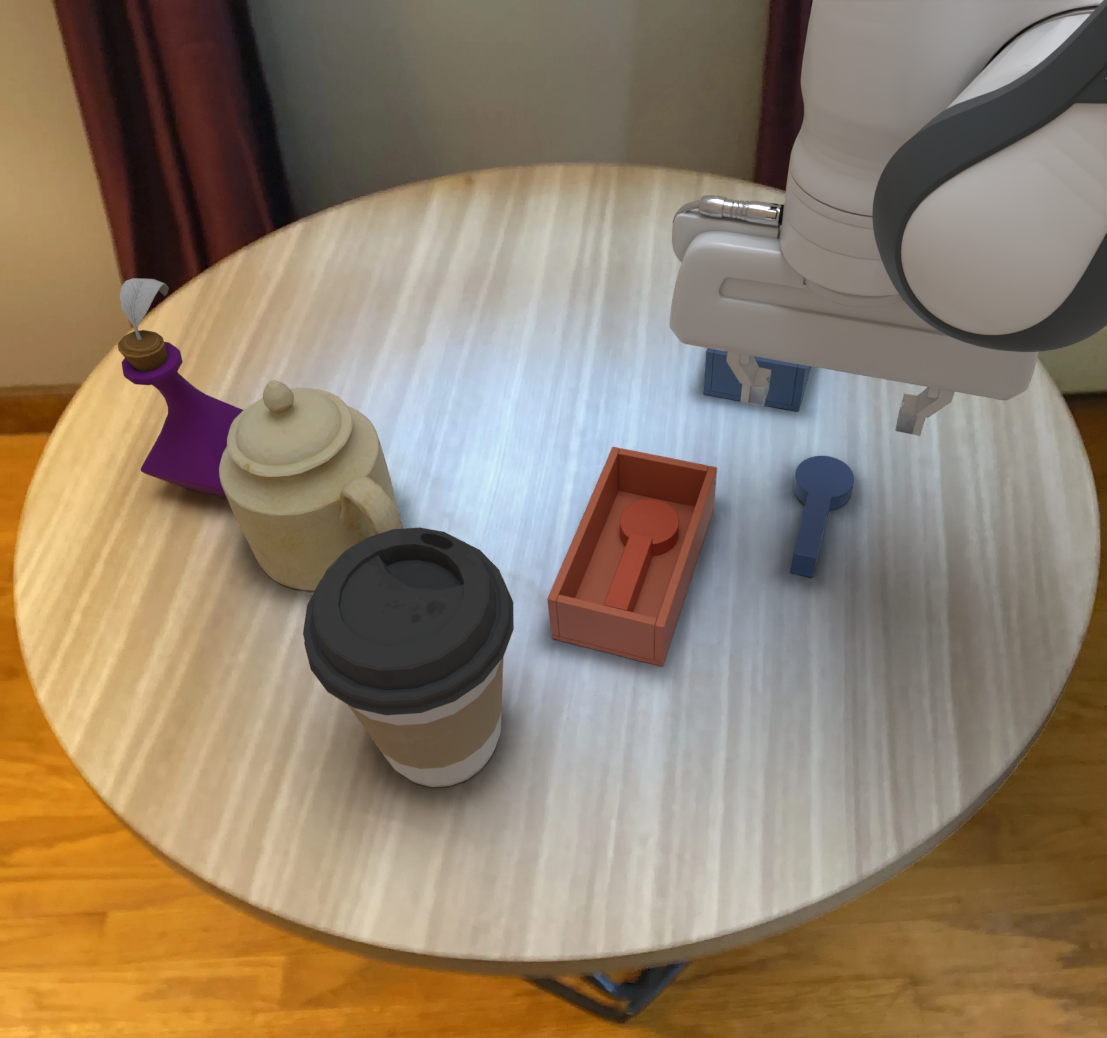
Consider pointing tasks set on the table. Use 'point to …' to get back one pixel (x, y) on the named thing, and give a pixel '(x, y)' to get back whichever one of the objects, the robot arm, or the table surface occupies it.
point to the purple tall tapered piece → (174, 401)
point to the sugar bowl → (305, 481)
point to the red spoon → (641, 548)
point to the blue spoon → (817, 505)
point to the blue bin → (783, 381)
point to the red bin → (601, 549)
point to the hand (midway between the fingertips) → (830, 412)
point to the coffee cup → (415, 649)
